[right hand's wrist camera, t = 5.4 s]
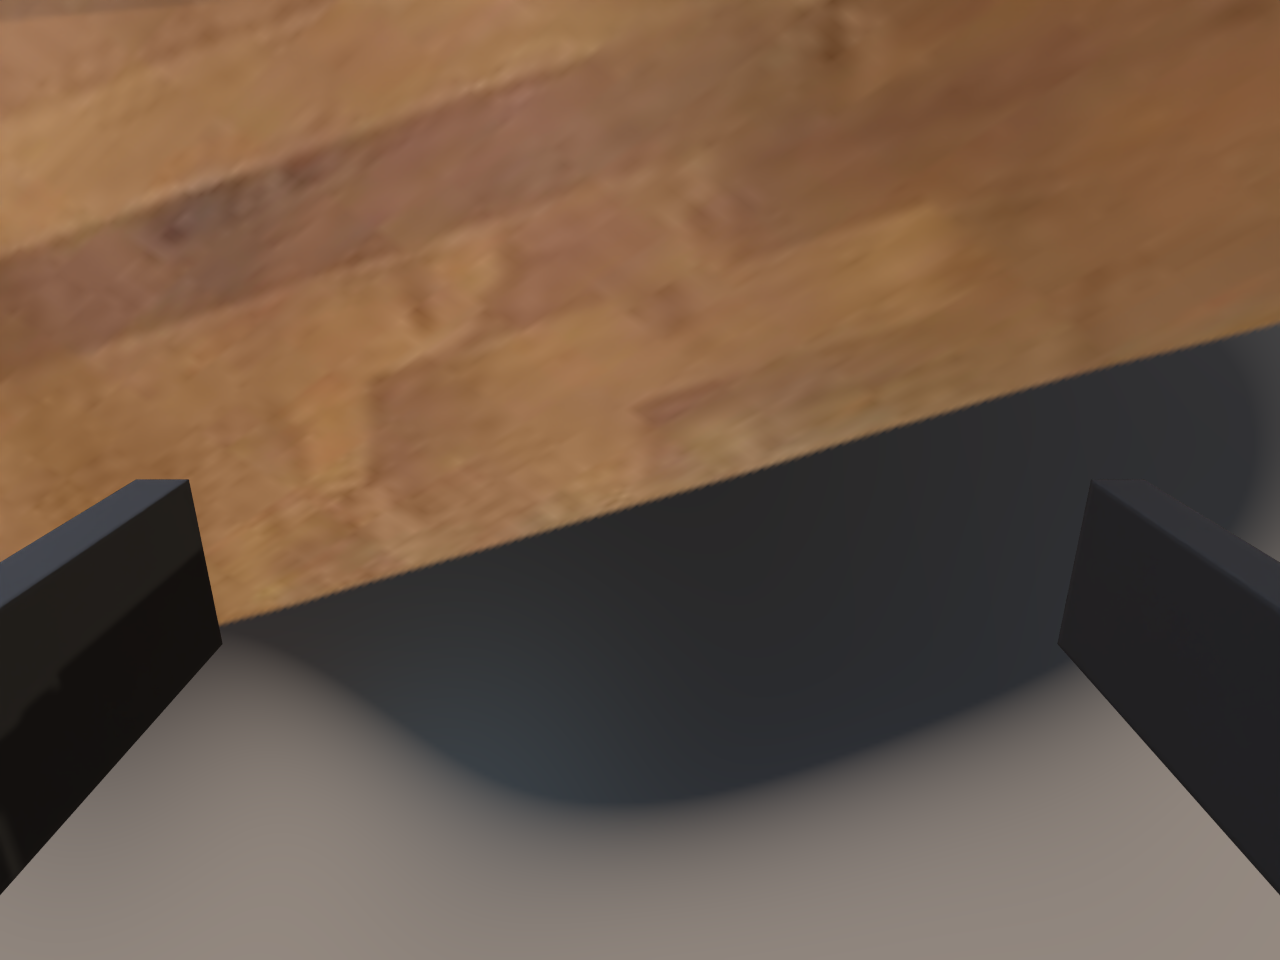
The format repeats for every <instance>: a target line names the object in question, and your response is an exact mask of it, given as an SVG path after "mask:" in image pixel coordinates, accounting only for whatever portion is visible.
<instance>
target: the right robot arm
mask: <svg viewBox="0 0 1280 960" xmlns="http://www.w3.org/2000/svg"><path fill="white" fill-rule="evenodd" d="M221 645H222V639H221V634H220V630H219V625H218V620H217V615H216V610H215V605H214V600H213V595H212V590H211V586H210V581H209V576H208V571H207V566H206V561H205V556H204V551H203V547H202V542H201V537H200V532H199V527H198V522H197V517H196V512H195V507H194V503H193V498H192V493H191V488H190V483H189V480H135V481H133V482H131V483H130V484H128V485H126V486H125V487H123V488H121V489H120V490H118V491H117V492H115V493H113V494H112V495H110V496H108V497H107V498H105V499H103V500H102V501H100V502H99V503H97V504H95V505H94V506H92V507H90V508H89V509H87V510H85V511H84V512H82V513H80V514H79V515H77V516H76V517H74V518H72V519H71V520H69V521H67V522H66V523H64V524H62V525H61V526H59V527H58V528H56V529H54V530H53V531H51V532H49V533H48V534H46V535H44V536H43V537H41V538H39V539H38V540H36V541H35V542H33V543H31V544H30V545H28V546H26V547H25V548H23V549H21V550H20V551H18V552H17V553H15V554H13V555H12V556H10V557H8V558H7V559H5V560H3V561H2V562H0V895H1V893H2V892H3V891H4V890H5V889H6V888H7V887H8V886H9V884H10V883H11V882H12V881H13V880H14V879H15V878H16V876H17V875H18V874H19V873H20V872H21V871H22V870H23V869H24V867H25V866H26V865H27V864H28V863H29V862H30V861H31V859H32V858H33V857H34V856H35V855H36V854H37V853H38V852H39V851H40V849H41V848H42V847H43V846H44V845H45V844H46V843H47V842H48V840H49V839H50V838H51V837H52V836H53V835H54V834H55V832H56V831H57V830H58V829H59V828H60V827H61V826H62V825H63V823H64V822H65V821H66V820H67V819H68V818H69V817H70V816H71V814H72V813H73V812H74V811H75V810H76V809H77V808H78V807H79V805H80V804H81V803H82V802H83V801H84V800H85V799H86V797H87V796H88V795H89V794H90V793H91V792H92V791H93V790H94V788H95V787H96V786H97V785H98V784H99V783H100V782H101V781H102V779H103V778H104V777H105V776H106V775H107V774H108V773H109V771H110V770H111V769H112V768H113V767H114V766H115V765H116V764H117V762H118V761H119V760H120V759H121V758H122V757H123V756H124V755H125V753H126V752H127V751H128V750H129V749H130V748H131V747H132V745H133V744H134V743H135V742H136V741H137V740H138V739H139V738H140V736H141V735H142V734H143V733H144V732H145V731H146V730H147V729H148V727H149V726H150V725H151V724H152V723H153V722H154V721H155V720H156V718H157V717H158V716H159V715H160V714H161V713H162V712H163V710H164V709H165V708H166V707H167V706H168V705H169V704H170V703H171V701H172V700H173V699H174V698H175V697H176V696H177V695H178V694H179V692H180V691H181V690H182V689H183V688H184V687H185V686H186V685H187V683H188V682H189V681H190V680H191V679H192V678H193V677H194V675H195V674H196V673H197V672H198V671H199V670H200V669H201V668H202V666H203V665H204V664H205V663H206V662H207V661H208V660H209V658H210V657H211V656H212V655H213V654H214V653H215V652H216V651H217V650H218V648H219V647H220V646H221ZM1058 645H1059V646H1060V647H1061V648H1062V649H1063V651H1064V652H1065V653H1066V654H1067V655H1068V656H1069V657H1070V659H1071V660H1072V661H1073V662H1074V663H1075V664H1076V665H1077V666H1078V667H1079V669H1080V670H1081V671H1082V672H1083V673H1084V674H1085V675H1086V677H1087V678H1088V679H1089V680H1090V681H1091V682H1092V683H1093V684H1094V686H1095V687H1096V688H1097V689H1098V690H1099V691H1100V692H1101V694H1102V695H1103V696H1104V697H1105V698H1106V699H1107V700H1108V701H1109V703H1110V704H1111V705H1112V706H1113V707H1114V708H1115V709H1116V710H1117V712H1118V713H1119V714H1120V715H1121V716H1122V717H1123V718H1124V719H1125V721H1126V722H1127V723H1128V724H1129V725H1130V726H1131V727H1132V729H1133V730H1134V731H1135V732H1136V733H1137V734H1138V735H1139V736H1140V738H1141V739H1142V740H1143V741H1144V742H1145V743H1146V744H1147V746H1148V747H1149V748H1150V749H1151V750H1152V751H1153V752H1154V753H1155V755H1156V756H1157V757H1158V758H1159V759H1160V760H1161V761H1162V762H1163V764H1164V765H1165V766H1166V767H1167V768H1168V769H1169V770H1170V771H1171V773H1172V774H1173V775H1174V776H1175V777H1176V778H1177V779H1178V780H1179V782H1180V783H1181V784H1182V785H1183V786H1184V787H1185V788H1186V790H1187V791H1188V792H1189V793H1190V794H1191V795H1192V796H1193V797H1194V799H1195V800H1196V801H1197V802H1198V803H1199V804H1200V805H1201V807H1202V808H1203V809H1204V810H1205V811H1206V812H1207V813H1208V814H1209V816H1210V817H1211V818H1212V819H1213V820H1214V821H1215V822H1216V823H1217V825H1218V826H1219V827H1220V828H1221V829H1222V830H1223V831H1224V832H1225V834H1226V835H1227V836H1228V837H1229V838H1230V839H1231V840H1232V842H1233V843H1234V844H1235V845H1236V846H1237V847H1238V848H1239V849H1240V851H1241V852H1242V853H1243V854H1244V855H1245V856H1246V857H1247V858H1248V860H1249V861H1250V862H1251V863H1252V864H1253V865H1254V866H1255V868H1256V869H1257V870H1258V871H1259V872H1260V873H1261V874H1262V875H1263V877H1264V878H1265V879H1266V880H1267V881H1268V882H1269V883H1270V884H1271V886H1272V887H1273V888H1274V889H1275V890H1276V891H1277V892H1278V893H1279V895H1280V562H1278V561H1276V560H1275V559H1273V558H1272V557H1270V556H1268V555H1267V554H1265V553H1263V552H1262V551H1260V550H1258V549H1257V548H1255V547H1254V546H1252V545H1250V544H1249V543H1247V542H1245V541H1244V540H1242V539H1241V538H1239V537H1237V536H1236V535H1234V534H1232V533H1231V532H1229V531H1227V530H1226V529H1224V528H1222V527H1221V526H1219V525H1218V524H1216V523H1214V522H1213V521H1211V520H1209V519H1208V518H1206V517H1204V516H1203V515H1201V514H1200V513H1198V512H1196V511H1194V510H1193V509H1191V508H1190V507H1188V506H1186V505H1185V504H1183V503H1181V502H1180V501H1178V500H1177V499H1175V498H1173V497H1172V496H1170V495H1168V494H1167V493H1165V492H1163V491H1162V490H1160V489H1159V488H1157V487H1155V486H1154V485H1152V484H1150V483H1149V482H1147V481H1145V480H1091V483H1090V488H1089V493H1088V498H1087V503H1086V508H1085V512H1084V517H1083V522H1082V527H1081V532H1080V537H1079V542H1078V547H1077V551H1076V556H1075V561H1074V566H1073V571H1072V576H1071V581H1070V586H1069V590H1068V595H1067V600H1066V605H1065V610H1064V615H1063V620H1062V625H1061V630H1060V634H1059V639H1058Z"/></svg>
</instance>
